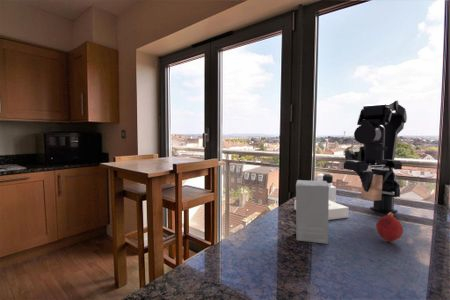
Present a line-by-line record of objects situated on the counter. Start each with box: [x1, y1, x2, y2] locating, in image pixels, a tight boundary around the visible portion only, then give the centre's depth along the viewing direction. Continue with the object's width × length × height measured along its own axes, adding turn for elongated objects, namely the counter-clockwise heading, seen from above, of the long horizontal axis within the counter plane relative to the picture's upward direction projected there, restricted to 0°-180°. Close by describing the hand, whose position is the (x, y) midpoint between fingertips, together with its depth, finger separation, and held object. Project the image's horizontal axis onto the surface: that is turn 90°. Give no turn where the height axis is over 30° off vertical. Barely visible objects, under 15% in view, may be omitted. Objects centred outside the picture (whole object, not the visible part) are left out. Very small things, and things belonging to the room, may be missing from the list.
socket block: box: [293, 199, 350, 221], centre depth 86 cm, size 13×13×4 cm
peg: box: [360, 174, 383, 202], centre depth 77 cm, size 4×4×8 cm
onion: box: [375, 212, 404, 243], centre depth 63 cm, size 6×6×8 cm
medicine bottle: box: [316, 173, 337, 203], centre depth 101 cm, size 7×7×12 cm
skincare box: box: [295, 179, 329, 245], centre depth 65 cm, size 8×7×16 cm
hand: (371, 191), depth 77 cm, fingers closed on peg, 4 cm apart
